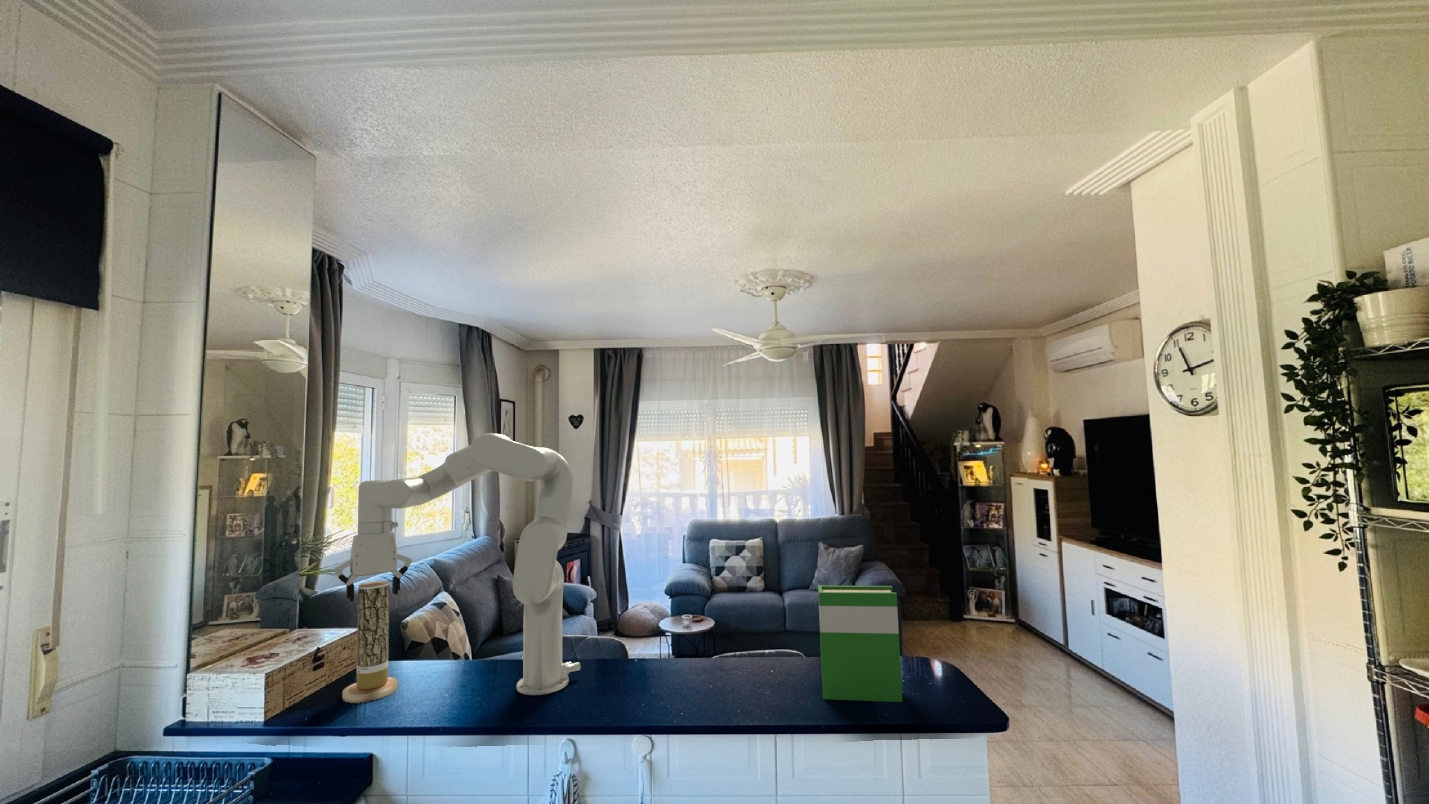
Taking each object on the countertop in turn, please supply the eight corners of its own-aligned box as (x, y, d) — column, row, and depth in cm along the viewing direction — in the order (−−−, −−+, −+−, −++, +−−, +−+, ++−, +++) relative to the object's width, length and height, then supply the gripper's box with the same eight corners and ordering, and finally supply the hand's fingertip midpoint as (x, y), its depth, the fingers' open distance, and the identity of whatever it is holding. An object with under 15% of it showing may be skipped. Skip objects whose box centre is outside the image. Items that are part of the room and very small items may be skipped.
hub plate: (393, 679, 153) (393, 673, 153) (402, 693, 144) (402, 686, 144) (339, 692, 145) (339, 685, 146) (345, 707, 136) (345, 700, 136)
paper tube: (373, 692, 141) (375, 587, 143) (349, 690, 142) (351, 586, 144) (394, 681, 147) (395, 581, 150) (370, 680, 149) (372, 580, 151)
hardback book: (897, 688, 138) (891, 586, 140) (902, 702, 131) (896, 593, 133) (822, 686, 141) (818, 585, 143) (823, 699, 133) (818, 592, 136)
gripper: (409, 524, 157) (408, 588, 155) (332, 531, 146) (331, 600, 144) (415, 526, 151) (414, 593, 149) (336, 533, 140) (334, 606, 138)
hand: (373, 597), depth 147 cm, fingers open, 9 cm apart
